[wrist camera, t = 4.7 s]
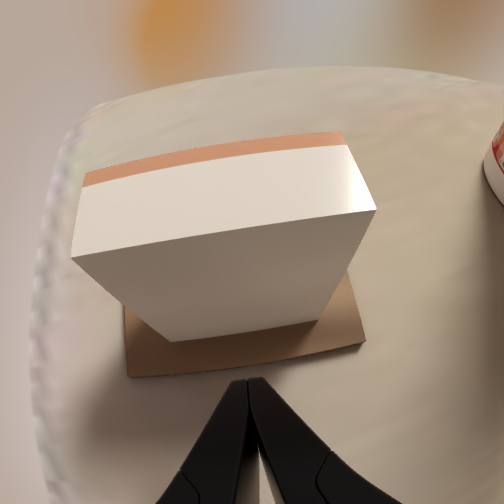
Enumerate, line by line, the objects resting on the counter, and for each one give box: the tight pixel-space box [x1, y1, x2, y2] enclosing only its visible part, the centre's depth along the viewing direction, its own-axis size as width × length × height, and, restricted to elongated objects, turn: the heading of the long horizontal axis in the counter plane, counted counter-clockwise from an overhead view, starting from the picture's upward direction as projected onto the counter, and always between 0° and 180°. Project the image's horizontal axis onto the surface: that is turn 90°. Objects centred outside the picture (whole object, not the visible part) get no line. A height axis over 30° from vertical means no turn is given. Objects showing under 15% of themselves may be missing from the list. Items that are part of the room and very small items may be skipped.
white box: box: [70, 132, 377, 342], centre depth 12 cm, size 3×8×10 cm, turn 99°
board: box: [125, 269, 366, 378], centre depth 19 cm, size 15×13×1 cm
